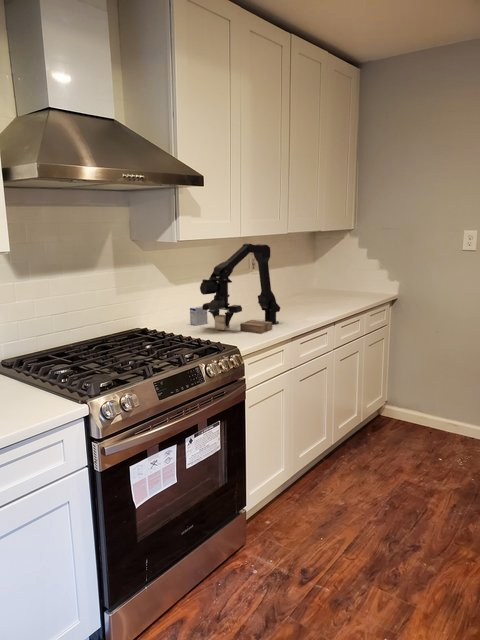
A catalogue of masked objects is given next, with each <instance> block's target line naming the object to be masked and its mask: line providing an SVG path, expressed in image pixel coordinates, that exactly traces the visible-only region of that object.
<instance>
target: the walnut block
mask: <svg viewBox="0 0 480 640" xmlns="http://www.w3.org/2000/svg"><path fill="white" fill-rule="evenodd" d="M239 327H240V332H244V333H251V334H257V335H258V334H260V335H262V334H265V333H267V332H269V331H271V330H273V324H272V322H267V321H265V320H259V319H258V320H257V319H251V320H247V321H244V322H241V323H240V325H239Z"/></svg>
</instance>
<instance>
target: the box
mask: <svg viewBox="0 0 480 640" xmlns="http://www.w3.org/2000/svg"><path fill="white" fill-rule="evenodd" d="M202 306H203V305H202ZM202 306H201V305H200V306H196V307H194V306H193V307H190V308H189V323H190V325H191V326H196V327H197V326H201V325H205V324H208V323H209V321H208V310H202Z"/></svg>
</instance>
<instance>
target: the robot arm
mask: <svg viewBox="0 0 480 640" xmlns="http://www.w3.org/2000/svg"><path fill="white" fill-rule="evenodd" d="M250 253H251V254H253V256H254V259H255V260H256V262H257V264H258V266H257V267H258V273H259V284H260V290H261V291H260V294H259V295H257V299H258V300H257V301H258V302H257V304H258V305H259V306H260V308H261V310H262V311H264V321H267V322H272V325H275V324H278V323H279V322H280V321H279V320H278V321H277V313H279V312H280V311H281V307H280V305H279V304H278V303H277V300H276V296H275V293H273V291H272V286H271V285H272V284H271V278H270V277H271V276H270V267H269V261H270V259H271V247H270V246H269V245H267V244H260V243H259V244H252V243H243V244H242V246H241V247H240V248H239V249H237V251H235V252H234V253H233V254H232V255H231V256H230V257H229V258H228V259H227V260H224V261H222V262H220V263H219V264H217V265H216V266H214V268H213V271H212V273H211V274H210V276H209V278H208V279H202V282H201V284H200V285H199V291H200V293H201V294H202V295H213V294H215V295H214V296H213V299H212V300H211V301H210V302H204V303H203V304H202V310H207V313H210V314H211V315H212V317H213V319H214V320H213V321H215V316H217V315H220V310H224V311H226V312H224V315H226V326H228V325H229V326H230V322H231V320H232V318H233V316H234V314H237V313H240V312H243V307H242V305H239V304H232V305H230V303H229V297H230V294H229V284H232V283H233V281H232V280H231V279H230V276H231V274H233V271H234V269H235V268H236V267H237V265H238V264H239V263H241V262H242V261H243V260H244V259H245V258H246V257H247V256H248V255H249V254H250Z"/></svg>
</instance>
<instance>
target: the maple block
mask: <svg viewBox="0 0 480 640" xmlns="http://www.w3.org/2000/svg"><path fill="white" fill-rule="evenodd" d="M214 329H215V330H223V331H225V330H227V329H228V330H229V329H230V324H229V325H228V326H226V315H225V314H219V315H217V316H215V320H214Z"/></svg>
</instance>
